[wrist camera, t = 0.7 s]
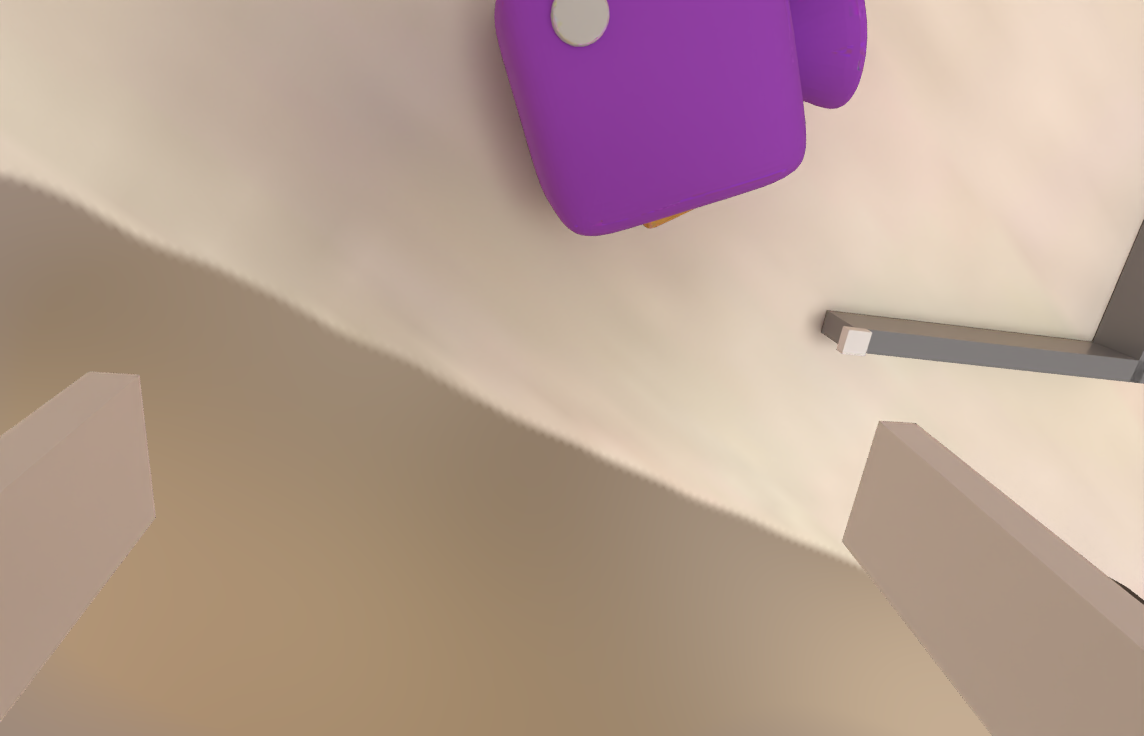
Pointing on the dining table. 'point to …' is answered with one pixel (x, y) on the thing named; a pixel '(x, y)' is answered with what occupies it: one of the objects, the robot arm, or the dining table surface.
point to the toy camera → (671, 97)
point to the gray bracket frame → (1014, 337)
